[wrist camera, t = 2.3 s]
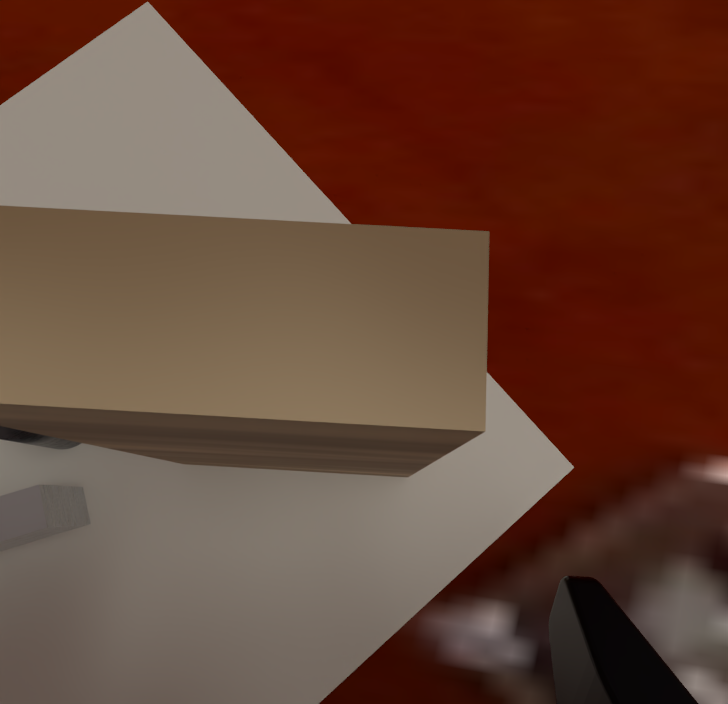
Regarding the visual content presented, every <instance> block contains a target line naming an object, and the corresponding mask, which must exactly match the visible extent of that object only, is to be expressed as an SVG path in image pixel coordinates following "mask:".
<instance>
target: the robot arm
mask: <svg viewBox="0 0 728 704" xmlns="http://www.w3.org/2000/svg"><path fill="white" fill-rule="evenodd" d="M549 638H550V647H551V656H552V665H553V674H554V684H555V693H556V702H557V704H698V703H697V701H696V700H695V699H694V698H693V697H692V695H691V694H690V693H689V692H688V690H687V689H686V688H685V687H684V685H683V684H682V683H681V682H680V681H679V679H678V678H677V677H676V676H675V674H674V673H673V672H672V671H671V669H670V668H669V667H668V666H667V664H666V663H665V662H664V661H663V660H662V658H661V657H660V656H659V655H658V653H657V652H656V651H655V650H654V648H653V647H652V646H651V645H650V644H649V642H648V641H647V640H646V639H645V637H644V636H643V635H642V634H641V632H640V631H639V630H638V629H637V628H636V626H635V625H634V624H633V623H632V621H631V620H630V619H629V618H628V616H627V615H626V614H625V613H624V612H623V610H622V609H621V608H620V607H619V605H618V604H617V603H616V602H615V600H614V599H613V598H612V597H611V595H610V594H609V593H608V592H607V591H606V589H605V588H604V587H603V586H602V584H601V583H600V582H599V581H597V580H596V579H594V578H591V577H579V576H565V577H563V578H562V579H561V581H560V584H559V587H558V590H557V593H556V597H555V600H554V603H553V607H552V610H551V614H550V618H549Z"/></svg>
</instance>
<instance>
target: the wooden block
mask: <svg viewBox="0 0 728 704" xmlns="http://www.w3.org/2000/svg"><path fill="white" fill-rule="evenodd" d="M488 272H489V231H472V230H453V229H434V228H415V227H396V226H378V225H359V224H340V223H321V222H302V221H283V220H264V219H246V218H227V217H208V216H189V215H170V214H151V213H132V212H114V211H95V210H76V209H57V208H38V207H19V206H0V426H3V427H8V428H12V429H17V430H22V431H27V432H32V433H36V434H41V435H46V436H51V437H56V438H60V439H65V440H70V441H75V442H79V443H84V444H89V445H94V446H99V447H103V448H108V449H113V450H118V451H123V452H127V453H132V454H137V455H142V456H146V457H151V458H156V459H161V460H166V461H170V462H175V463H180V464H187V465H204V466H221V467H238V468H255V469H272V470H289V471H306V472H323V473H340V474H357V475H375V476H392V477H410V476H411V475H413V474H415V473H416V472H418V471H420V470H421V469H423V468H425V467H426V466H428V465H430V464H431V463H433V462H435V461H437V460H438V459H440V458H442V457H443V456H445V455H447V454H448V453H450V452H452V451H453V450H455V449H457V448H458V447H460V446H462V445H464V444H465V443H467V442H469V441H470V440H472V439H474V438H475V437H477V436H479V435H480V434H482V433H484V432H485V429H486V377H487V324H488Z"/></svg>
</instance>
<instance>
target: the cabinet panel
mask: <svg viewBox="0 0 728 704" xmlns="http://www.w3.org/2000/svg"><path fill="white" fill-rule="evenodd" d="M0 206H19V207H38V208H57V209H76V210H95V211H114V212H132V213H151V214H170V215H189V216H208V217H227V218H246V219H264V220H283V221H302V222H321V223H340V224H351V223H350V222H349V221H348V220H347V219H346V218H345V217H344V216H343V214H342V213H341V212H340V211H339V210H338V209H337V208H336V207H335V206H334V205H333V204H332V202H331V201H330V200H329V199H328V198H327V197H326V196H325V195H324V194H323V193H322V192H321V190H320V189H319V188H318V187H317V186H316V185H315V184H314V183H313V182H312V181H311V180H310V178H309V177H308V176H307V175H306V174H305V173H304V172H303V171H302V170H301V169H300V167H299V166H298V165H297V164H296V163H295V162H294V161H293V160H292V159H291V158H290V157H289V155H288V154H287V153H286V152H285V151H284V150H283V149H282V148H281V147H280V146H279V145H278V143H277V142H276V141H275V140H274V139H273V138H272V137H271V136H270V135H269V134H268V133H267V131H266V130H265V129H264V128H263V127H262V126H261V125H260V124H259V123H258V122H257V121H256V119H255V118H254V117H253V116H252V115H251V114H250V113H249V112H248V111H247V110H246V109H245V107H244V106H243V105H242V104H241V103H240V102H239V101H238V100H237V99H236V98H235V96H234V95H233V94H232V93H231V92H230V91H229V90H228V89H227V88H226V87H225V86H224V84H223V83H222V82H221V81H220V80H219V79H218V78H217V77H216V76H215V75H214V74H213V72H212V71H211V70H210V69H209V68H208V67H207V66H206V65H205V64H204V63H203V62H202V60H201V59H200V58H199V57H198V56H197V55H196V54H195V53H194V52H193V51H192V50H191V48H190V47H189V46H188V45H187V44H186V43H185V42H184V41H183V40H182V39H181V38H180V36H179V35H178V34H177V33H176V32H175V31H174V30H173V29H172V28H171V27H170V26H169V24H168V23H167V22H166V21H165V20H164V19H163V18H162V17H161V16H160V15H159V13H158V12H157V11H156V10H155V9H154V8H153V7H152V6H151V5H150V4H149V3H148V2H146V3H145V4H144V5H142V6H141V7H139V8H138V9H137V10H135V11H134V12H132V13H131V14H129V15H128V16H127V17H125V18H124V19H122V20H121V21H119V22H118V23H117V24H115V25H114V26H112V27H111V28H110V29H108V30H107V31H105V32H104V33H102V34H101V35H100V36H98V37H97V38H95V39H94V40H92V41H91V42H90V43H88V44H87V45H85V46H84V47H83V48H81V49H80V50H78V51H77V52H75V53H74V54H73V55H71V56H70V57H68V58H67V59H66V60H64V61H63V62H61V63H60V64H58V65H57V66H56V67H54V68H53V69H51V70H50V71H48V72H47V73H46V74H44V75H43V76H41V77H40V78H39V79H37V80H36V81H34V82H33V83H31V84H30V85H29V86H27V87H26V88H24V89H23V90H21V91H20V92H19V93H17V94H16V95H14V96H13V97H12V98H10V99H9V100H7V101H6V102H4V103H3V104H2V105H0ZM573 468H574V467H573V466H572V465H571V463H570V462H569V461H568V460H567V459H566V458H565V457H564V456H563V455H562V454H561V453H560V451H559V450H558V449H557V448H556V447H555V446H554V445H553V444H552V443H551V442H550V441H549V439H548V438H547V437H546V436H545V435H544V434H543V433H542V432H541V431H540V430H539V429H538V427H537V426H536V425H535V424H534V423H533V422H532V421H531V420H530V419H529V418H528V417H527V415H526V414H525V413H524V412H523V411H522V410H521V409H520V408H519V407H518V406H517V404H516V403H515V402H514V401H513V400H512V399H511V398H510V397H509V396H508V395H507V394H506V392H505V391H504V390H503V389H502V388H501V387H500V386H499V385H498V384H497V383H496V382H495V380H494V379H493V378H492V377H491V376H490V375H489V374H488V373H487V377H486V429H485V432H484V433H482V434H480V435H479V436H477V437H475V438H474V439H472V440H470V441H469V442H467V443H465V444H464V445H462V446H460V447H458V448H457V449H455V450H453V451H452V452H450V453H448V454H447V455H445V456H443V457H442V458H440V459H438V460H437V461H435V462H433V463H431V464H430V465H428V466H426V467H425V468H423V469H421V470H420V471H418V472H416V473H415V474H413V475H411V476H410V477H392V476H375V475H357V474H340V473H323V472H306V471H289V470H272V469H255V468H238V467H221V466H204V465H187V464H180V463H175V462H170V461H166V460H161V459H156V458H151V457H146V456H142V455H137V454H132V453H127V452H123V451H118V450H113V449H108V448H103V447H99V446H94V445H89V444H84V443H81V444H80V445H78V446H76V447H73V448H70V449H63V450H62V449H53V448H47V447H41V446H36V445H30V444H24V443H18V442H12V441H7V440H1V439H0V496H2V495H5V494H9V493H12V492H15V491H19V490H22V489H25V488H29V487H32V486H36V485H57V486H75V487H83V489H84V494H85V499H86V504H87V508H88V513H89V518H90V523H91V524H89V525H86V526H83V527H80V528H76V529H73V530H70V531H66V532H63V533H60V534H56V535H53V536H50V537H46V538H43V539H40V540H36V541H33V542H30V543H26V544H23V545H20V546H16V547H13V548H10V549H7V550H3V551H0V704H319V703H320V702H321V701H322V700H323V699H324V698H325V697H326V696H327V695H328V694H330V693H331V692H332V691H333V690H334V689H335V688H336V687H337V686H338V685H339V684H340V683H341V682H343V681H344V680H345V679H346V678H347V677H348V676H349V675H350V674H351V673H352V672H353V671H354V670H356V669H357V668H358V667H359V666H360V665H361V664H362V663H363V662H364V661H365V660H366V659H367V658H368V657H370V656H371V655H372V654H373V653H374V652H375V651H376V650H377V649H378V648H379V647H380V646H381V645H383V644H384V643H385V642H386V641H387V640H388V639H389V638H390V637H391V636H392V635H393V634H394V633H396V632H397V631H398V630H399V629H400V628H401V627H402V626H403V625H404V624H405V623H406V622H407V621H409V620H410V619H411V618H412V617H413V616H414V615H415V614H416V613H417V612H418V611H419V610H420V609H422V608H423V607H424V606H425V605H426V604H427V603H428V602H429V601H430V600H431V599H432V598H433V597H435V596H436V595H437V594H438V593H439V592H440V591H441V590H442V589H443V588H444V587H445V586H446V585H448V584H449V583H450V582H451V581H452V580H453V579H454V578H455V577H456V576H457V575H458V574H459V573H461V572H462V571H463V570H464V569H465V568H466V567H467V566H468V565H469V564H470V563H471V562H472V561H474V560H475V559H476V558H477V557H478V556H479V555H480V554H481V553H482V552H483V551H484V550H485V549H487V548H488V547H489V546H490V545H491V544H492V543H493V542H494V541H495V540H496V539H497V538H498V537H499V536H501V535H502V534H503V533H504V532H505V531H506V530H507V529H508V528H509V527H510V526H511V525H512V524H514V523H515V522H516V521H517V520H518V519H519V518H520V517H521V516H522V515H523V514H524V513H525V512H527V511H528V510H529V509H530V508H531V507H532V506H533V505H534V504H535V503H536V502H537V501H538V500H540V499H541V498H542V497H543V496H544V495H545V494H546V493H547V492H548V491H549V490H550V489H551V488H553V487H554V486H555V485H556V484H557V483H558V482H559V481H560V480H561V479H562V478H563V477H564V476H566V475H567V474H568V473H569V472H570V471H571V470H572V469H573Z"/></svg>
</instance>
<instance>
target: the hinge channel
mask: <svg viewBox="0 0 728 704" xmlns="http://www.w3.org/2000/svg"><path fill="white" fill-rule="evenodd" d="M0 439H1V440H7V441H12V442H18V443H24V444H30V445H36V446H41V447H47V448H53V449H62V450H63V449H70V448H73V447H76V446H78V445H80V444H81V443H79V442H75V441H70V440H65V439H60V438H56V437H51V436H46V435H41V434H36V433H32V432H27V431H22V430H17V429H12V428H8V427H3V426H0ZM89 524H91V523H90V518H89V513H88V508H87V504H86V499H85V494H84V489H83V487H75V486H57V485H36V486H32V487H29V488H25V489H22V490H19V491H15V492H12V493H9V494H5V495H2V496H0V551H3V550H7V549H10V548H13V547H16V546H20V545H23V544H26V543H30V542H33V541H36V540H40V539H43V538H46V537H50V536H53V535H56V534H60V533H63V532H66V531H70V530H73V529H76V528H80V527H83V526H86V525H89Z"/></svg>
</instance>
